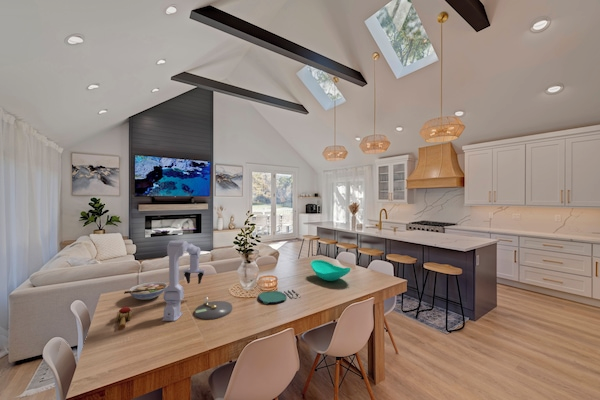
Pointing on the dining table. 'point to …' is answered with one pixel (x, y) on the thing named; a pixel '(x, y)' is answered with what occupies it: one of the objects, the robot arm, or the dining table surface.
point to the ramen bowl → (147, 290)
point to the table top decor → (328, 270)
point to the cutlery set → (273, 296)
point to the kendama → (123, 316)
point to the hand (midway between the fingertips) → (194, 283)
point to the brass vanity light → (208, 304)
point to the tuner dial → (213, 310)
